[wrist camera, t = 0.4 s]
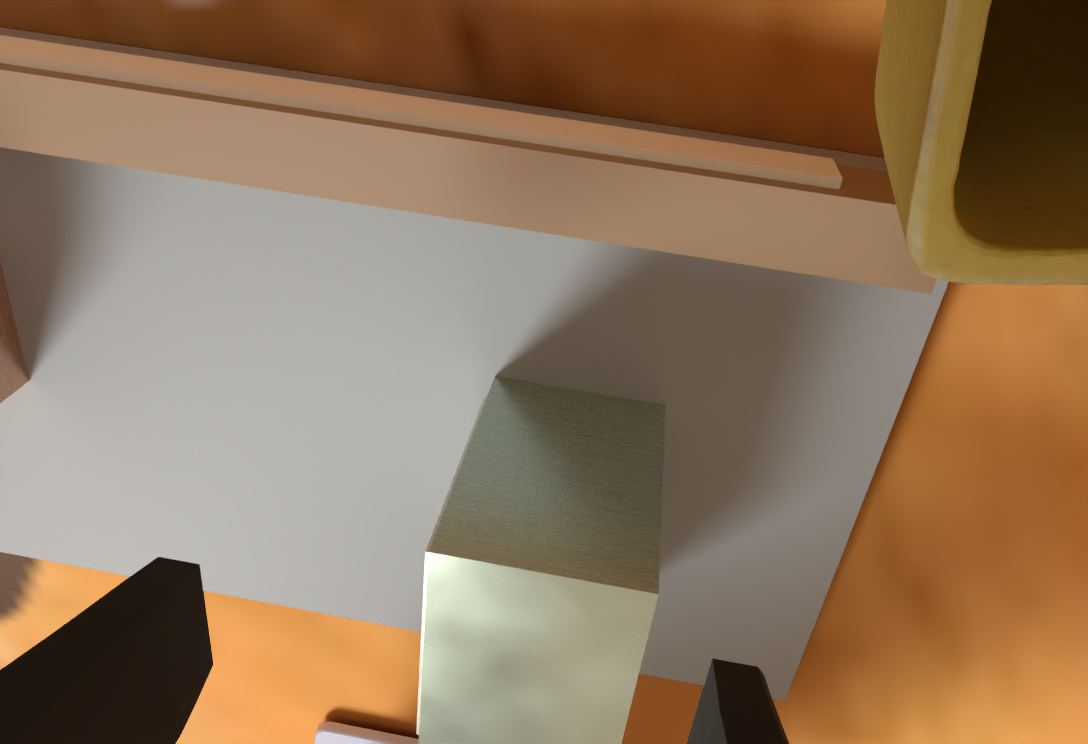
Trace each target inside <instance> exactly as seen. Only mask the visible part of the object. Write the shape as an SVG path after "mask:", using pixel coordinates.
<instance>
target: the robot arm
mask: <svg viewBox="0 0 1088 744" xmlns="http://www.w3.org/2000/svg"><path fill="white" fill-rule="evenodd" d="M212 666H213V659H212V652H211V644H210V637H209V630H208V622H207V615H206V608H205V600H204V593H203V586H202V578H201V571H200V564H195V563H190V562H185V561H179V560H174V559H168V558H163V557H157V558H156V559H154V560H153V561H151V562H150V563H149V564H147V565H146V566H144V567H143V568H142V569H140V570H139V571H137V572H136V573H135V574H133V575H132V576H130V577H129V578H128V579H126V580H125V581H124V582H122V583H121V584H119V585H118V586H117V587H115V588H114V589H113V590H111V591H110V592H109V593H107V594H106V595H105V596H103V597H102V598H100V599H99V600H98V601H96V602H95V603H94V604H92V605H91V606H90V607H88V608H87V609H85V610H84V611H83V612H81V613H80V614H79V615H77V616H76V617H74V618H73V619H72V620H70V621H69V622H68V623H66V624H65V625H64V626H62V627H61V628H59V629H58V630H57V631H55V632H54V633H52V634H51V635H49V636H48V637H47V638H45V639H44V640H42V641H41V642H40V643H38V644H37V645H35V646H34V647H32V648H31V649H30V650H28V651H27V652H25V653H24V654H23V655H21V656H20V657H18V658H17V659H15V660H14V661H13V662H11V663H10V664H8V665H7V666H5V667H4V668H3V669H1V670H0V744H175V743H176V742H177V740H178V738H179V737H180V735H181V733H182V731H183V729H184V727H185V725H186V723H187V721H188V719H189V716H190V714H191V712H192V710H193V708H194V706H195V704H196V702H197V699H198V697H199V695H200V693H201V690H202V688H203V686H204V684H205V682H206V679H207V677H208V675H209V673H210V670H211V668H212ZM315 744H419V739H416V738H411V737H406V736H401V735H396V734H391V733H386V732H381V731H376V730H371V729H366V728H361V727H356V726H351V725H346V724H341V723H336V722H329V721H327V722H323V723H321V724H320V725H319V726H318V729H317V731H316V733H315ZM687 744H789V742H788V740H787V737H786V735H785V732H784V729H783V727H782V724H781V722H780V719H779V716H778V714H777V711H776V708H775V706H774V703H773V700H772V697H771V694H770V691H769V688H768V685H767V682H766V679H765V676H764V674H763V673H762V671H761V670H760V669H759V667H757V666H751V665H746V664H740V663H735V662H729V661H724V660H719V659H713V658H712V661H711V665H710V668H709V671H708V675H707V678H706V681H705V685H704V688H703V691H702V695H701V698H700V701H699V705H698V708H697V712H696V715H695V718H694V722H693V725H692V728H691V732H690V735H689V738H688V742H687Z"/></svg>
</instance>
